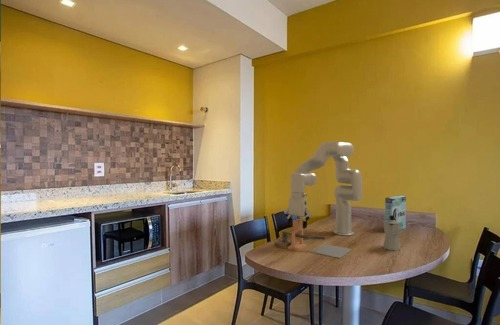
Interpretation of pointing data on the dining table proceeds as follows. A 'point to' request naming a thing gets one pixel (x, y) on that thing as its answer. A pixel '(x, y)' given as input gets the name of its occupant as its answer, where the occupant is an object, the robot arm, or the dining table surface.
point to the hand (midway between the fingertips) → (297, 226)
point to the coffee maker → (391, 234)
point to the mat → (332, 251)
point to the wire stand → (286, 242)
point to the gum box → (396, 209)
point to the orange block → (297, 227)
